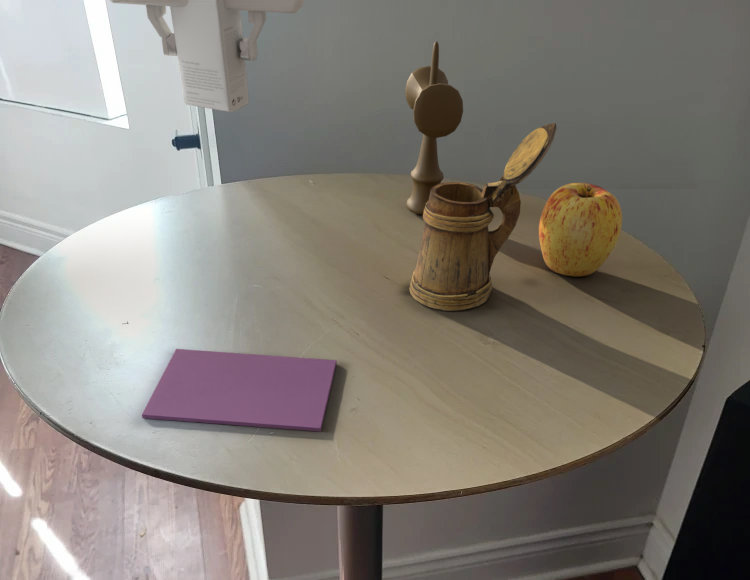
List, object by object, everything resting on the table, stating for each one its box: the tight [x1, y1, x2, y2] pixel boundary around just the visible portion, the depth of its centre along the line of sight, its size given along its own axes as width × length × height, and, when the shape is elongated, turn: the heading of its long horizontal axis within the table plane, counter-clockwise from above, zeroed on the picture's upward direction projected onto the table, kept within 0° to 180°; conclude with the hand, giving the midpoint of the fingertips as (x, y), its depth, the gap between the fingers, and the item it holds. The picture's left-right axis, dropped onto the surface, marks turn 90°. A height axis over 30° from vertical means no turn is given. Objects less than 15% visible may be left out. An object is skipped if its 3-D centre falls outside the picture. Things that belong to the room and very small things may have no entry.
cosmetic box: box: [169, 0, 250, 113], centre depth 81 cm, size 6×4×12 cm
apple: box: [538, 182, 623, 277], centre depth 89 cm, size 9×9×10 cm
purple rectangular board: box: [141, 348, 338, 432], centre depth 72 cm, size 16×11×1 cm
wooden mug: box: [409, 122, 558, 312], centre depth 81 cm, size 9×14×18 cm, turn 93°
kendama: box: [404, 41, 464, 216], centre depth 97 cm, size 6×10×20 cm, turn 6°
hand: (211, 56), depth 82 cm, fingers closed on cosmetic box, 7 cm apart
